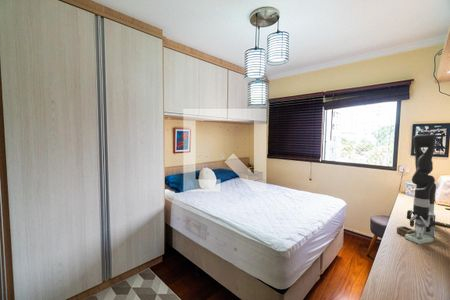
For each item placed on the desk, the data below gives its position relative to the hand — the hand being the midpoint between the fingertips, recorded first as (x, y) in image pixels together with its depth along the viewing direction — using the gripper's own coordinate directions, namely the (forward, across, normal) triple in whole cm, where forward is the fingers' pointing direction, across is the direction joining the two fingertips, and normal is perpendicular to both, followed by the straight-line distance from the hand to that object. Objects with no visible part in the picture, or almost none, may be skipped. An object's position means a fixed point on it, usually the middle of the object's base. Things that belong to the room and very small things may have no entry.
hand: (419, 229), depth 134 cm
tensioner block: (+7, +8, 0) cm, 11 cm away
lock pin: (+7, 0, 0) cm, 7 cm away
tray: (+7, 0, 0) cm, 7 cm away
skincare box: (+8, +4, -12) cm, 15 cm away
